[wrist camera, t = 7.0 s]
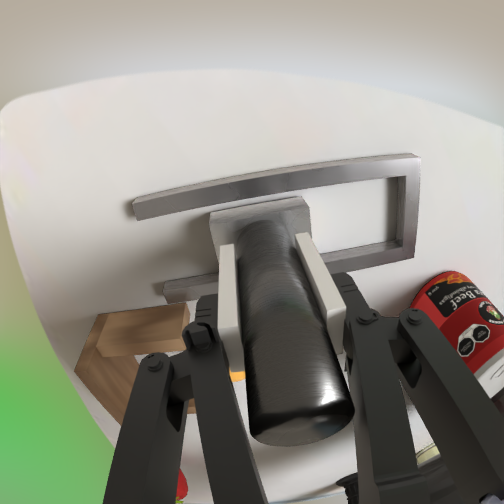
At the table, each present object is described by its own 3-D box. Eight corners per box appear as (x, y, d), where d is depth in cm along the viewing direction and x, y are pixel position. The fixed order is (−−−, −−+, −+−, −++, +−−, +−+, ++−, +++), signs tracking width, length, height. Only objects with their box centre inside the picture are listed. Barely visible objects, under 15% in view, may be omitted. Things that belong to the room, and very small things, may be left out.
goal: (185, 302, 23) (176, 365, 18) (216, 378, 28) (216, 434, 23) (98, 314, 24) (74, 371, 18) (141, 384, 28) (131, 436, 23)
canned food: (476, 269, 25) (540, 340, 15) (445, 329, 28) (492, 402, 19) (425, 265, 24) (496, 353, 14) (393, 333, 27) (439, 421, 18)
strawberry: (157, 464, 41) (154, 514, 32) (146, 447, 37) (141, 504, 28) (191, 466, 41) (191, 517, 32) (184, 450, 37) (183, 509, 29)
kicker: (301, 196, 20) (403, 365, 7) (312, 344, 26) (353, 488, 14) (210, 212, 20) (191, 407, 7) (247, 356, 27) (261, 505, 14)
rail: (411, 153, 19) (420, 157, 18) (406, 250, 23) (413, 257, 22) (136, 197, 19) (131, 203, 18) (170, 294, 23) (167, 303, 22)
